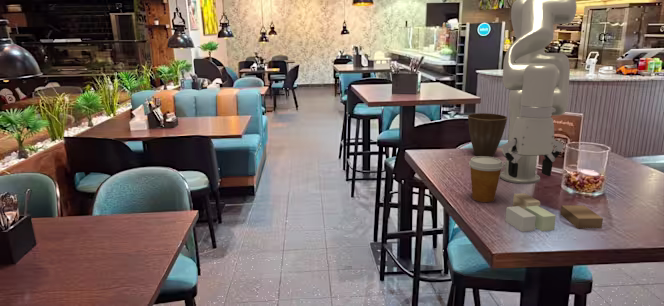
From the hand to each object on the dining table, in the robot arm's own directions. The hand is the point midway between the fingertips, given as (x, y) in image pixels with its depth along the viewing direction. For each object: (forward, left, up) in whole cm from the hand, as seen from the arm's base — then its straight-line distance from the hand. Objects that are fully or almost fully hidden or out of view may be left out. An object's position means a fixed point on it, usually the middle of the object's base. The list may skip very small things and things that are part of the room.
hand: (529, 175), depth 120 cm
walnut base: (+8, +10, -11) cm, 17 cm away
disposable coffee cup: (-12, -7, -11) cm, 17 cm away
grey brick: (+8, -7, -11) cm, 15 cm away
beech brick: (-1, 0, -11) cm, 11 cm away
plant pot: (-59, +18, -11) cm, 63 cm away
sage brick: (+9, -2, -11) cm, 14 cm away
